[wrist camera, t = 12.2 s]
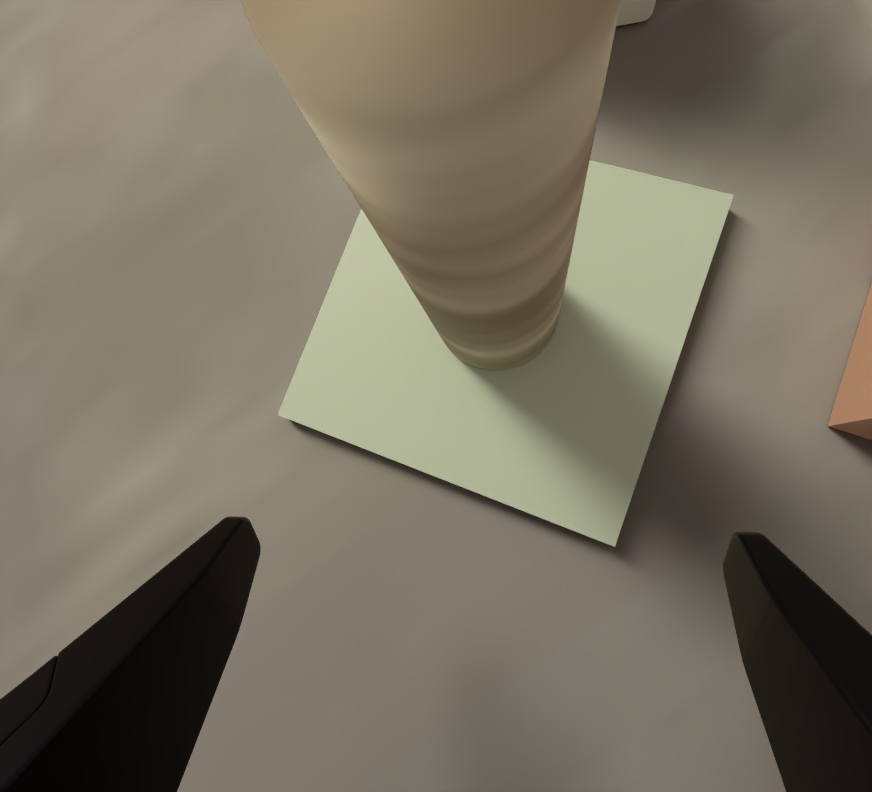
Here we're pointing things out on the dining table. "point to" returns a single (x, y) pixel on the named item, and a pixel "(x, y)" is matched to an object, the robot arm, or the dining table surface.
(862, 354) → the terracotta socket
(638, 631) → the dining table surface
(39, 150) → the dining table surface
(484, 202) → the beige ribbed peg
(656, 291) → the sage board
